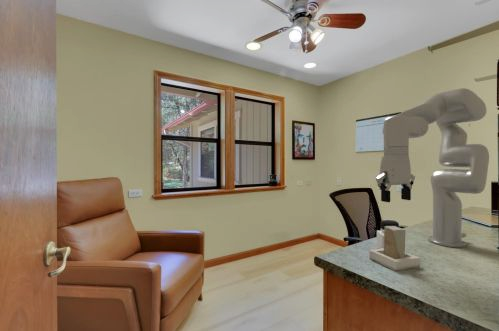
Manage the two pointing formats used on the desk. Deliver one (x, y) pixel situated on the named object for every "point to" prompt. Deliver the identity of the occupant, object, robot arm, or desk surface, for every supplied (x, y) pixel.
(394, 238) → the box
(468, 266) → the desk surface
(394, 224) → the medicine bottle
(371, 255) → the shallow square tray
